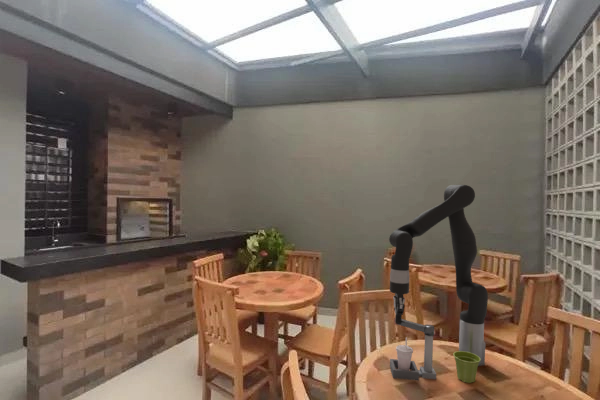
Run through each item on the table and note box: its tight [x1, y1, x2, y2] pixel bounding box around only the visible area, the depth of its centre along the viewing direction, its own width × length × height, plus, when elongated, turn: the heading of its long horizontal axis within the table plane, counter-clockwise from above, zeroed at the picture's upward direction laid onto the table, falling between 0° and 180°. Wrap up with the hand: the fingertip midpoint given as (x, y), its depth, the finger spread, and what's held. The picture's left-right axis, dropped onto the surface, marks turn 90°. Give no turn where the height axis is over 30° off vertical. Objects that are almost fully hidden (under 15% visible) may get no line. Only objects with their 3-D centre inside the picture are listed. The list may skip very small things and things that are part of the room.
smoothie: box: [395, 336, 414, 370], centre depth 135 cm, size 6×6×14 cm
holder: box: [389, 334, 437, 381], centre depth 135 cm, size 16×9×16 cm, turn 82°
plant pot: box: [452, 350, 481, 384], centre depth 132 cm, size 9×9×9 cm
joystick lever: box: [393, 317, 435, 337], centre depth 138 cm, size 16×4×3 cm, turn 47°
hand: (398, 323), depth 140 cm, fingers closed
